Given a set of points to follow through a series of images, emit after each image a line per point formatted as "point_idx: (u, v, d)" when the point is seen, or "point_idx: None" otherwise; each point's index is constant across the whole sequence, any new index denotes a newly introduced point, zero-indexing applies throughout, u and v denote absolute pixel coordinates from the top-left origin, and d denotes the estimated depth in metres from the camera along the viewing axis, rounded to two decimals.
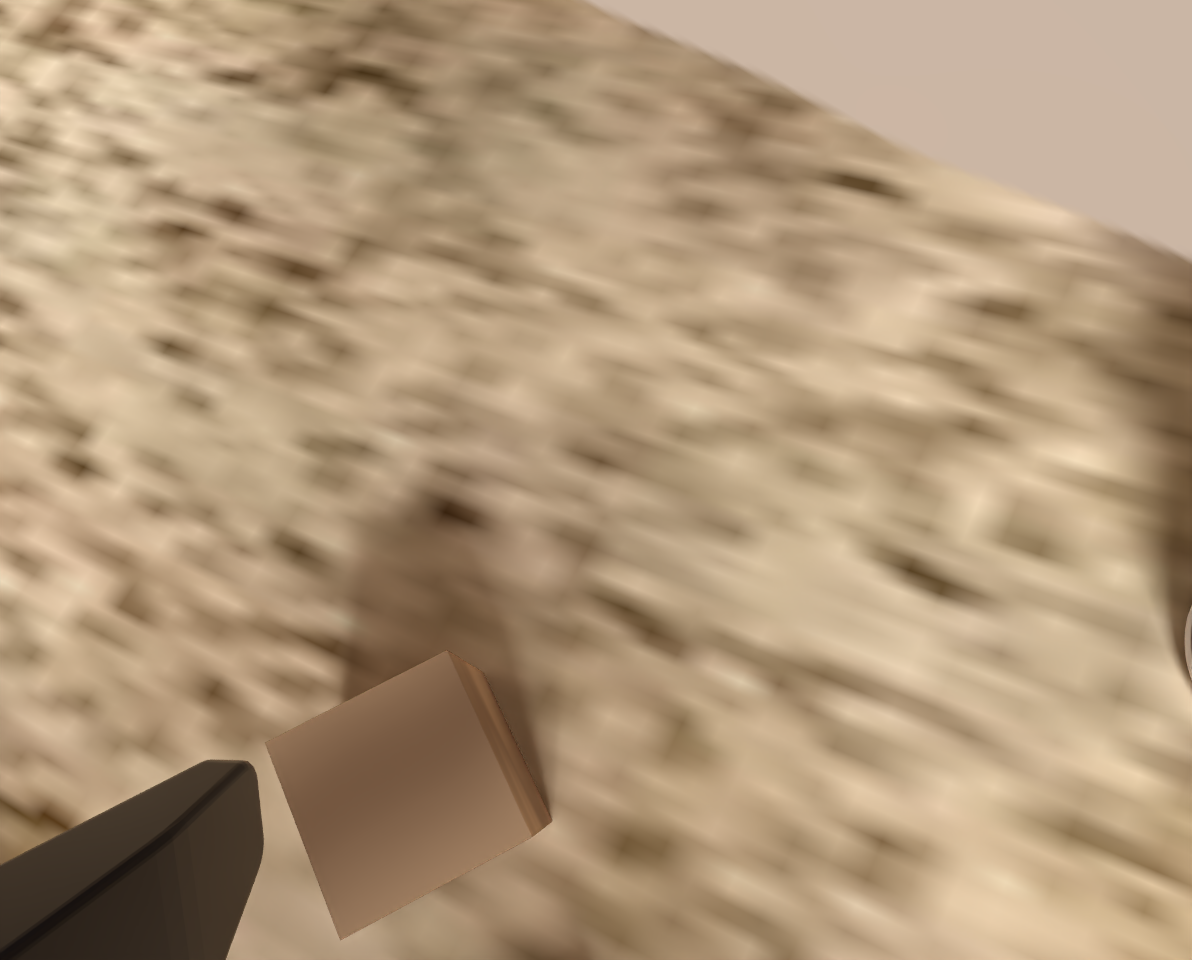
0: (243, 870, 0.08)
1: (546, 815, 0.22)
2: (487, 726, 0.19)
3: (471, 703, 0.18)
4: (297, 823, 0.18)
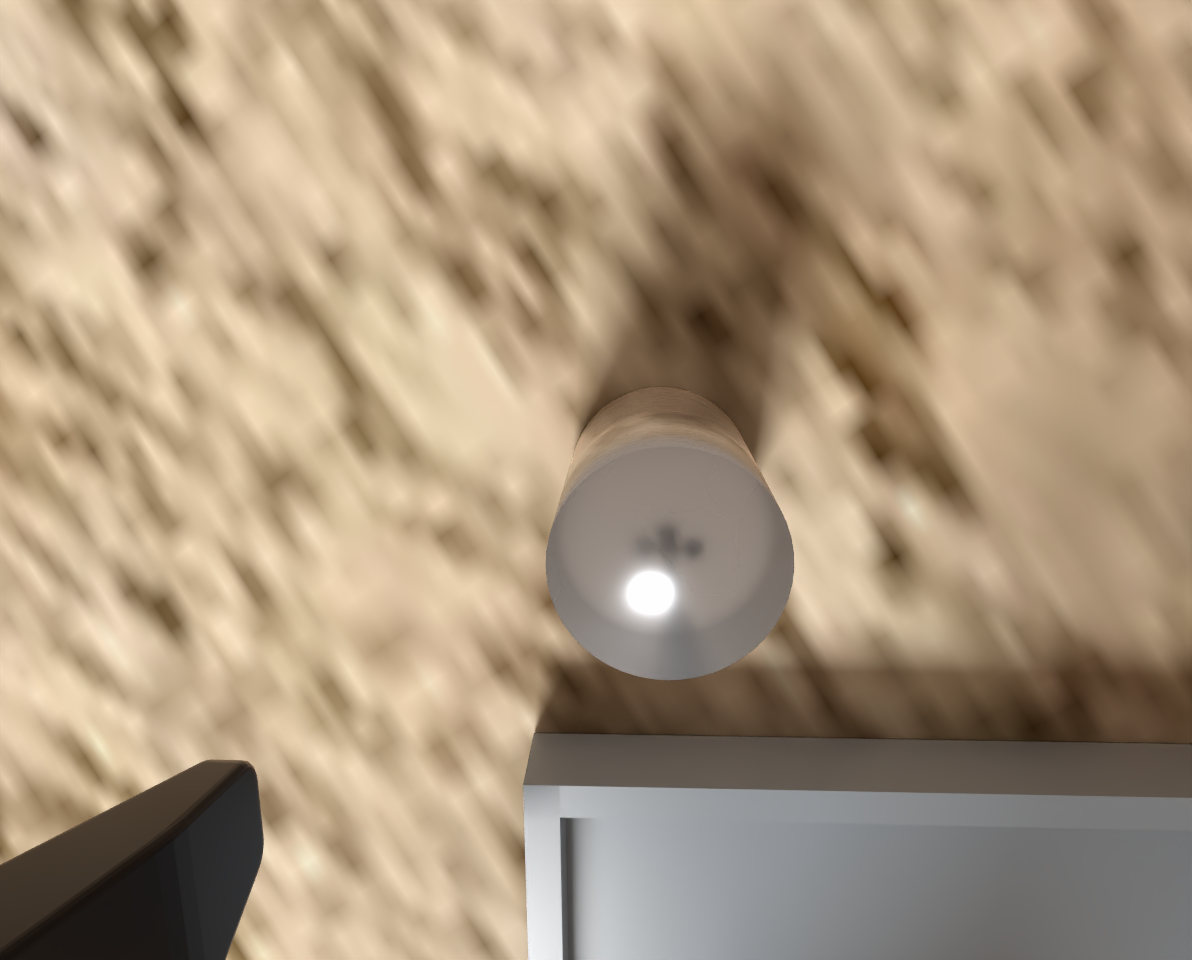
0: (243, 870, 0.08)
1: None
2: None
3: None
4: None
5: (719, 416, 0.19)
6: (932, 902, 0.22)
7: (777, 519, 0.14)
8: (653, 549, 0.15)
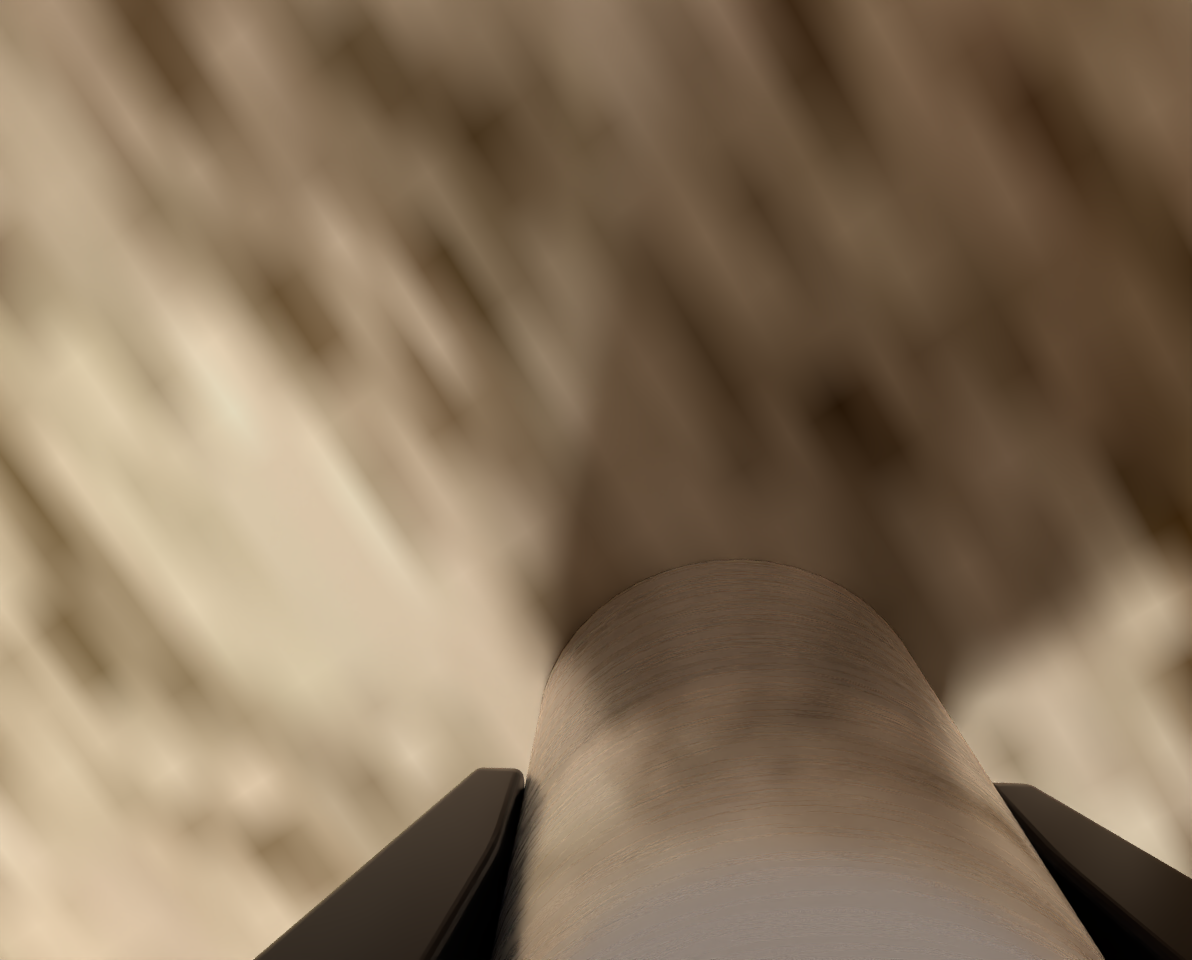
0: None
1: None
2: None
3: None
4: None
5: (902, 672, 0.07)
6: None
7: None
8: None
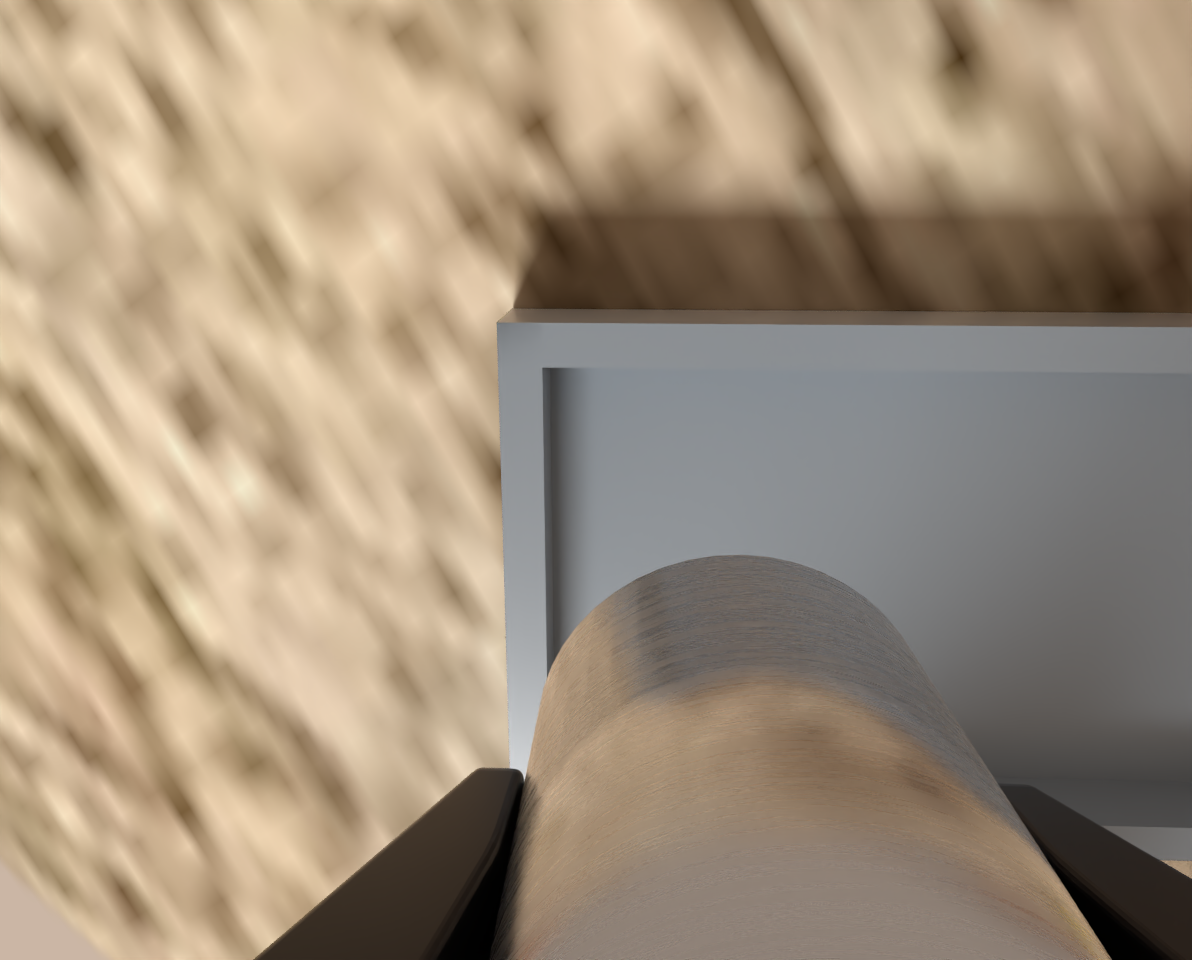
0: None
1: None
2: None
3: None
4: None
5: (904, 667, 0.07)
6: (989, 517, 0.19)
7: None
8: None
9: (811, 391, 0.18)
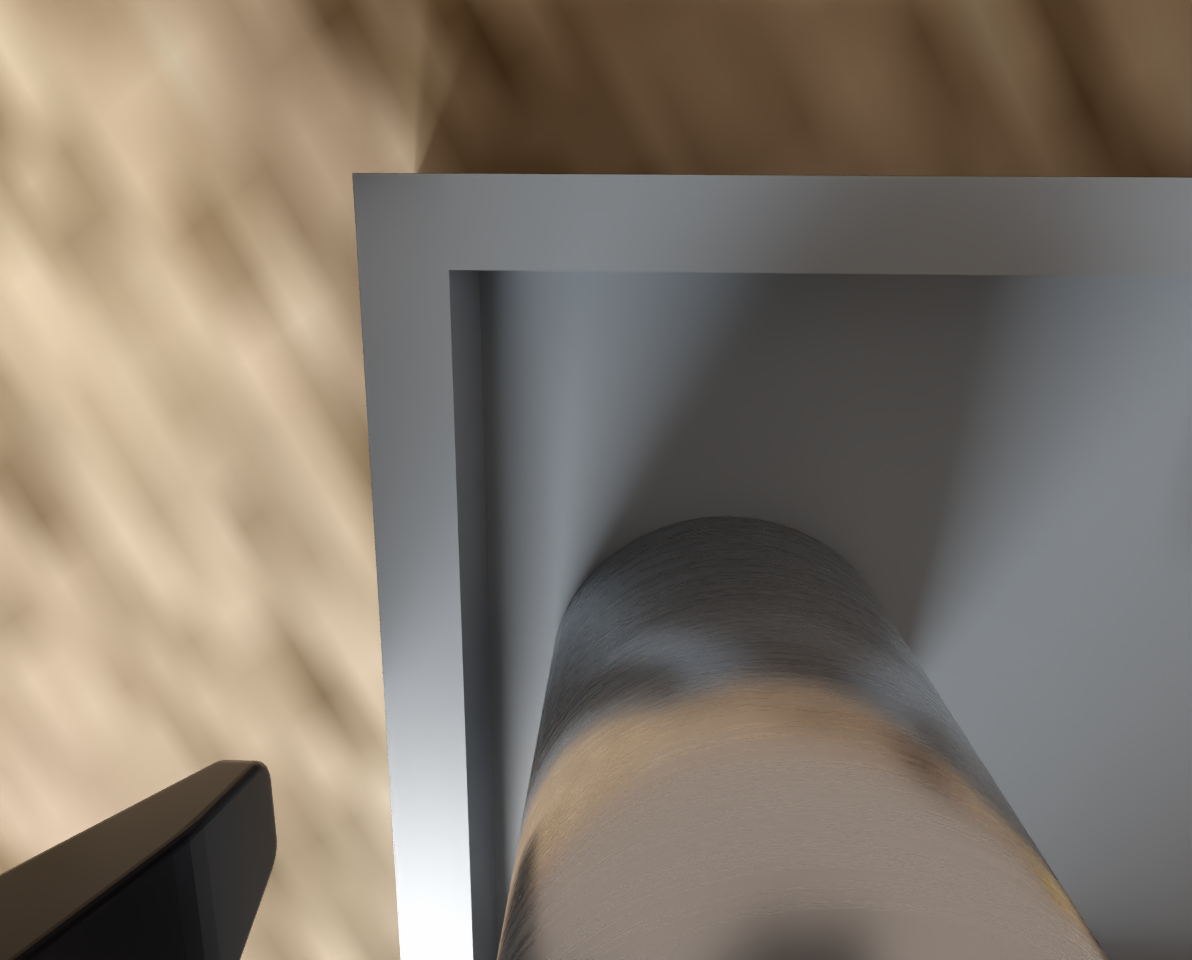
0: (257, 870, 0.08)
1: None
2: None
3: None
4: None
5: (866, 606, 0.09)
6: None
7: None
8: None
9: (973, 337, 0.10)
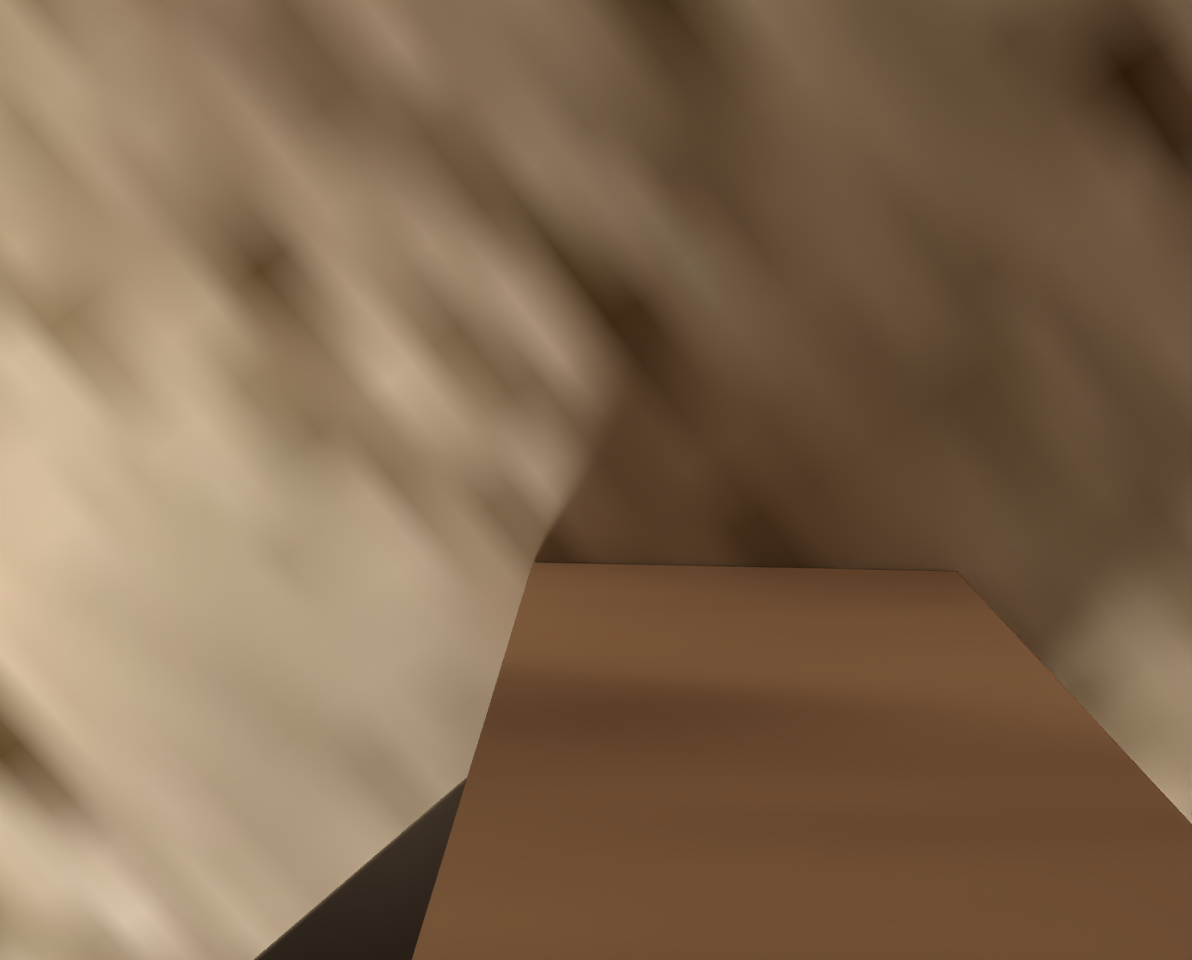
0: None
1: None
2: None
3: None
4: None
5: None
6: None
7: None
8: None
9: None
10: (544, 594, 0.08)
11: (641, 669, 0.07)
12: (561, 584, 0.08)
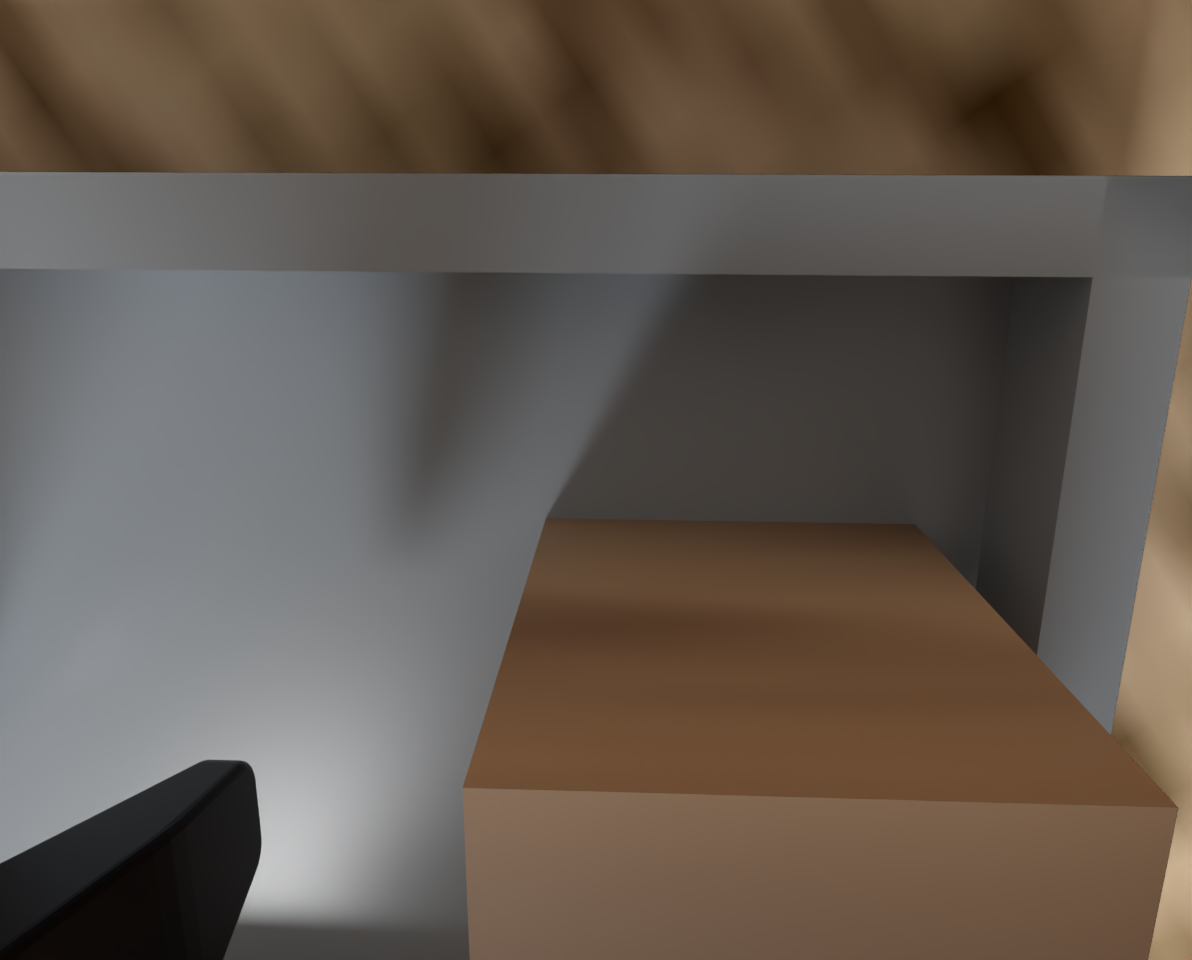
0: (241, 870, 0.08)
1: None
2: None
3: None
4: None
5: None
6: (304, 561, 0.10)
7: None
8: None
9: None
10: (556, 542, 0.09)
11: (638, 596, 0.08)
12: (570, 534, 0.10)
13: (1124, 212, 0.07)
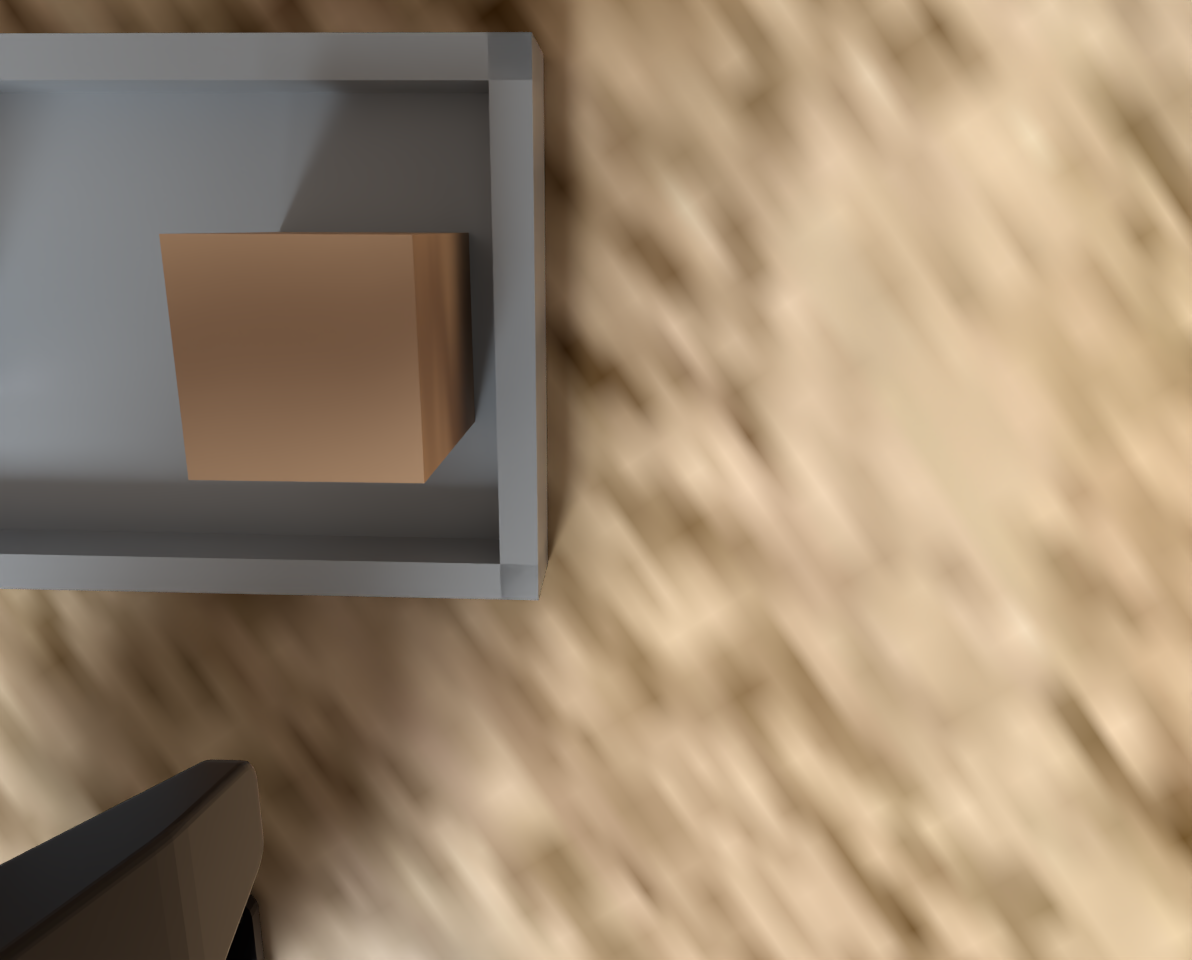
0: (243, 870, 0.08)
1: (468, 420, 0.19)
2: (429, 335, 0.15)
3: (416, 311, 0.15)
4: (174, 343, 0.15)
5: None
6: (153, 258, 0.19)
7: None
8: None
9: None
10: None
11: None
12: None
13: (497, 49, 0.17)
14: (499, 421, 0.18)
